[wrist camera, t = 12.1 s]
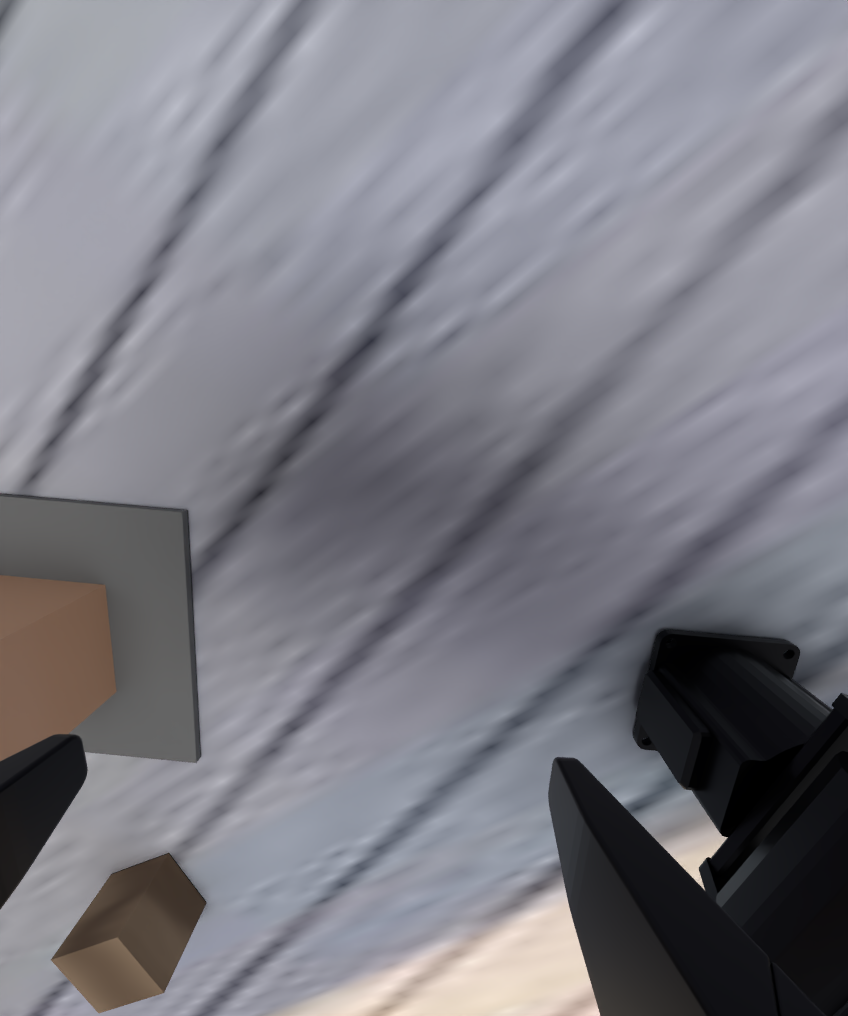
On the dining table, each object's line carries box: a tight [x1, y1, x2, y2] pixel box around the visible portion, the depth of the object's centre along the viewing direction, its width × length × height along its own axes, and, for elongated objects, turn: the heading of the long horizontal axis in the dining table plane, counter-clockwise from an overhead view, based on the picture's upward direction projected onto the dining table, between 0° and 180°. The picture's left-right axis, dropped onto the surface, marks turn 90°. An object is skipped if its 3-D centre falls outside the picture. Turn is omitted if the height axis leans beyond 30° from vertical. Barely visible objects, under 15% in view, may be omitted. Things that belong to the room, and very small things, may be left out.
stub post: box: [51, 854, 206, 1013], centre depth 23 cm, size 4×4×4 cm
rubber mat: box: [0, 494, 201, 763], centre depth 21 cm, size 14×14×1 cm
